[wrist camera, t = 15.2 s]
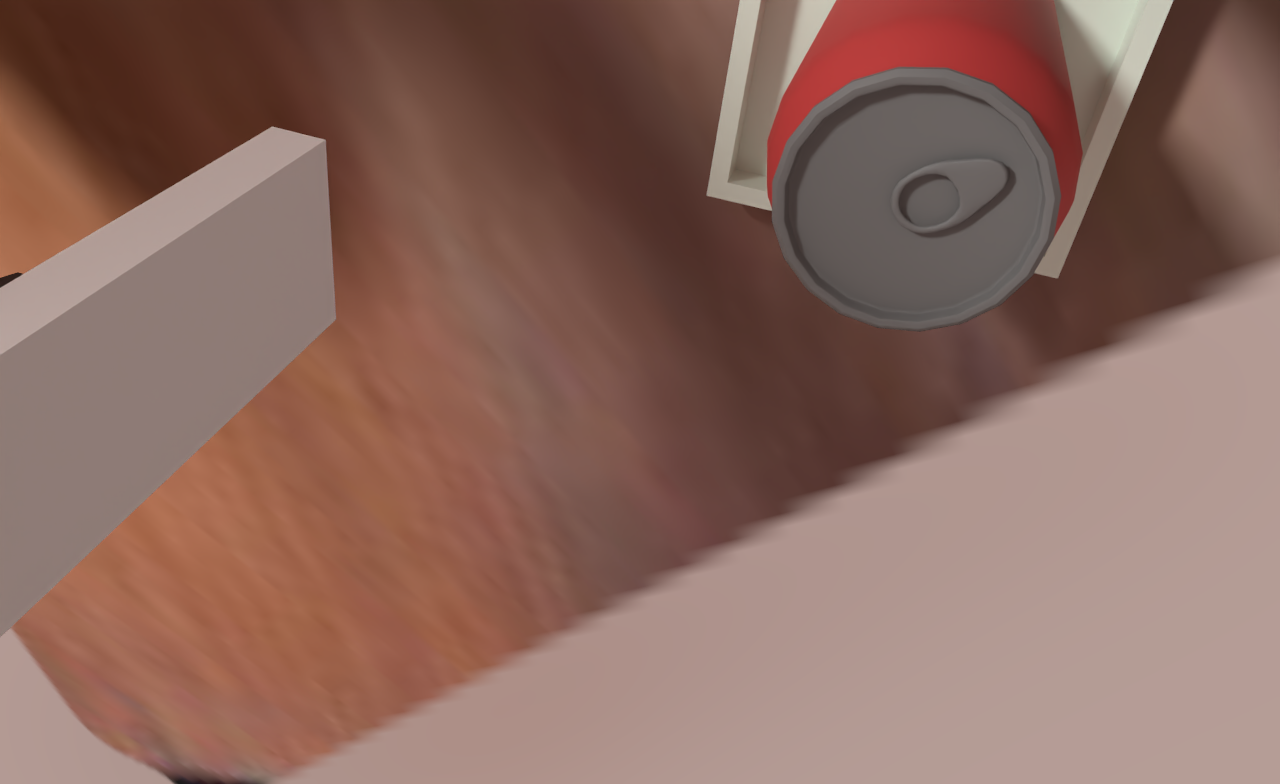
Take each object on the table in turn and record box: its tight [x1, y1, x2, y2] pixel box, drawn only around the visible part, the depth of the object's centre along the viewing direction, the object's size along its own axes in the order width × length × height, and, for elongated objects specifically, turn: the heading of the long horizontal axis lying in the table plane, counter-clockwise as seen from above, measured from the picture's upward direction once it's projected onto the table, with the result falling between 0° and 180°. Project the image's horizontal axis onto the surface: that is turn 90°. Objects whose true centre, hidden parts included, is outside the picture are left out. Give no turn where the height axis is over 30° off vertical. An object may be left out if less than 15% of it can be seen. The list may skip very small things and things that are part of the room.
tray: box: [706, 0, 1173, 279], centre depth 29 cm, size 11×11×2 cm
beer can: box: [767, 0, 1083, 331], centre depth 25 cm, size 7×7×12 cm
